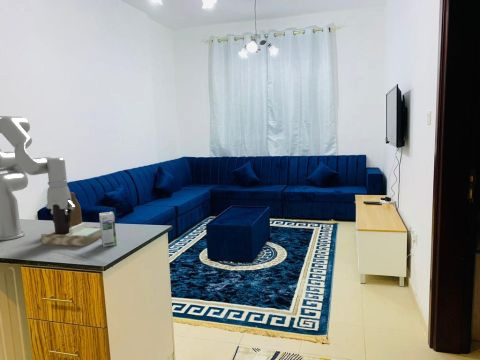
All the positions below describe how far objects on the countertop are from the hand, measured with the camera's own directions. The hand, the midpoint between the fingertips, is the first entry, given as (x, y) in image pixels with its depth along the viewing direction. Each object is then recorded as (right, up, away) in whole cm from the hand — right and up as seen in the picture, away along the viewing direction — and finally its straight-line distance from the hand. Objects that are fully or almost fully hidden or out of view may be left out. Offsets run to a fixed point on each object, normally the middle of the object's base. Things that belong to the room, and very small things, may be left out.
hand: (62, 221), depth 175 cm
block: (-4, -7, +18) cm, 19 cm away
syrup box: (+25, -10, -8) cm, 28 cm away
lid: (+11, -5, -2) cm, 13 cm away
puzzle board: (+5, -9, 0) cm, 10 cm away
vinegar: (0, -7, +1) cm, 7 cm away
